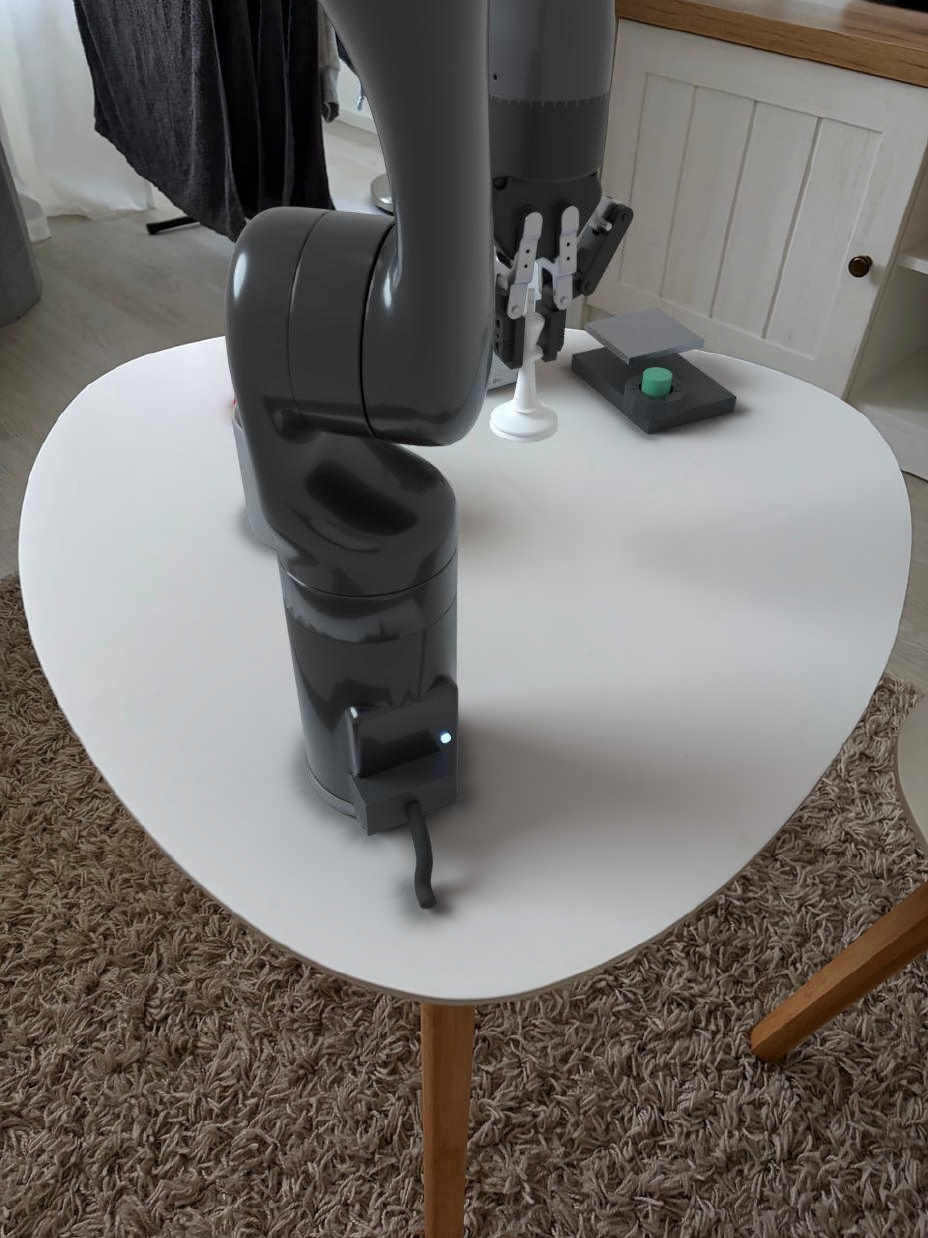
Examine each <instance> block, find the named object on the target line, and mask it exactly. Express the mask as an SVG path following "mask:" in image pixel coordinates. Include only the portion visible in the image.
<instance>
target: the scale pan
mask: <svg viewBox="0 0 928 1238" xmlns="http://www.w3.org/2000/svg"><path fill="white" fill-rule="evenodd" d="M583 329H584V330H583V331H585V333H586V334H588V335H590V336H591V337H592V338H593V339H595V340H596V341H597V342H598V343H600V344H601V345H602V346H603V347H606V348H607V349H609V350H610V351H611V352H612V353H614V354H615V355H616V356H617V357H619V358H620V359H621V360H623V361H624V362H625V363H626V364H628V365H630V364H635V363H639V362H643V361H647V360H652V359H656V358H660V357H664V356H669V355H673V354H677V353H678V354H682V353H686V352H691V351H694V350H698V349H702V348H705V347H704V346H705V341H706V340H705V339H704V338H703V337H701V336H700V335H698V334H697V333H695V332H694V331H693V330H691V329H690V328H688V327H687V326H685V325H684V324H683V323H681V322H679V321H678V320H677V319H675V318H674V317H672V316H671V315H670V314H669V313H667V312H665V311H664V310H662V309H661V308H660V307H652V308H648V309H644V310H639V311H635V312H630V313H626V314H621V315H616V316H612V317H611V316H610V317H606V318H602V319H597V320H593V321H589V322H588V321H587V322H585V323H584V328H583Z"/></svg>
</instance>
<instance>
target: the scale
mask: <svg viewBox="0 0 928 1238" xmlns="http://www.w3.org/2000/svg"><path fill="white" fill-rule="evenodd" d="M570 366H571V367H570V369H571V371H573V372H574V373H575V374H576V375H577V376H578V377H580V378H581V379H582V380H583V381H584V382H586V383H587V384H588V385H589V386H590V387H591V388H593V389H594V390H595V391H596V392H597V393H598V394H599V395H600V396H602V397H603V398H604V399H605V400H607V402H609V403H610V404H611V405H612V406H614V407H615V408H616V409H617V410H618V411H620V412H621V414H623V415H624V416H625V417H626V418H627V419H629V420H630V421H631V422H632V423H633V424H635V425H636V426H637V427H638V428H639V429H640V430H641V431H643V432H644V433H645V434H646V435H651V434H656V433H659V432H663V431H665V430H670V429H675V428H678V427H682V426H686V425H689V424H693V423H697V422H701V421H704V420H708V419H711V418H715V417H719V416H723V415H728V414H732V413H735V407H736V403H737V398H738V397H737V396H736V395H735V394H734V393H732V392H731V391H730V390H728V389H727V388H725V386H723V385H722V384H720V383H719V382H717V380H715V379H714V378H712V377H710V376H709V375H708V374H706V373H705V372H704V371H702V370H701V369H700V368H699V367H697V366H695V365H694V364H693V363H691V362H690V361H689V360H687V359H686V358H685V357H684V356H682V355H681V354H680V353H677V354H673V355H669V356H664V357H660V358H656V359H652V360H647V361H643V362H639V363H635V364H630V365H628V364H626V363H625V362H624V361H623V360H621V359H620V358H619V357H617V356H616V355H615V354H614V353H612V352H611V351H610V350H609V349H607V348H606V347H605V346H603V347H598V348H594V349H589V350H585V351H581V352H576V353H573V354H571V365H570ZM653 367H659V368H664V369H667V370H669V371H670V372H671V373H672V382H671V388H670V393H669V395H665V396H651V395H648V394H645V393H643V392H642V391H641V388H642V381H643V373H644V371H645V370H646V369H648V368H653Z"/></svg>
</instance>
